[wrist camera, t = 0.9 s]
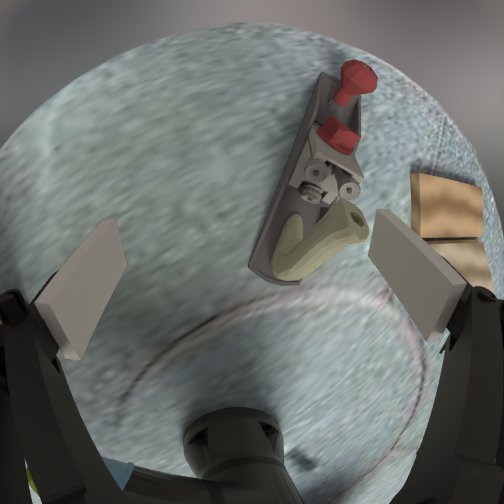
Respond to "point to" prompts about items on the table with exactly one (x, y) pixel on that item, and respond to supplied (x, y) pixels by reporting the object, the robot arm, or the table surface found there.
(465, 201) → the oak plank
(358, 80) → the hand plane
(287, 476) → the robot arm
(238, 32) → the table surface
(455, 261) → the ash plank
